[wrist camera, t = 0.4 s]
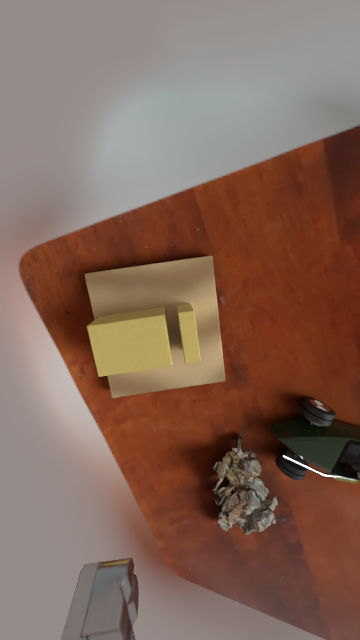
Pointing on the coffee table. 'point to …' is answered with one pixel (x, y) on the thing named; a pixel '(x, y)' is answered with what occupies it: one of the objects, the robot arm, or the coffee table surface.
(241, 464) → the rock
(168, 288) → the butter board
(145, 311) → the butter
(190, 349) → the butter slice
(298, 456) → the toy car
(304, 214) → the coffee table surface
